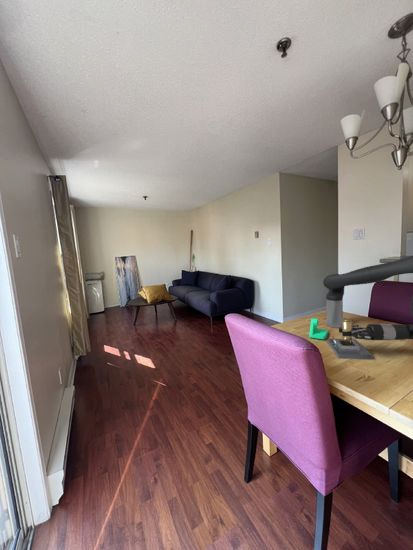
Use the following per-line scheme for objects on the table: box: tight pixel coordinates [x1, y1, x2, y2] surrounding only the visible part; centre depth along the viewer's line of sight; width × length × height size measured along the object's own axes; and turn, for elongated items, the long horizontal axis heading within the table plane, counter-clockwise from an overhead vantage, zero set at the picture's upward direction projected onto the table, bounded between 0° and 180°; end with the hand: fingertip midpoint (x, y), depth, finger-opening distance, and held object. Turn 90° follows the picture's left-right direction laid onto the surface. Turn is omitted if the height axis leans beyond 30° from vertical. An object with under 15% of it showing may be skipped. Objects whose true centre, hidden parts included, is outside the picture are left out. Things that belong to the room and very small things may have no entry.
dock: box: [326, 336, 373, 360], centre depth 114 cm, size 18×14×4 cm
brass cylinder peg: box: [341, 318, 353, 346], centre depth 112 cm, size 4×4×13 cm
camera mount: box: [308, 317, 329, 340], centre depth 133 cm, size 12×8×10 cm, turn 144°
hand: (340, 332), depth 112 cm, fingers closed on brass cylinder peg, 4 cm apart
